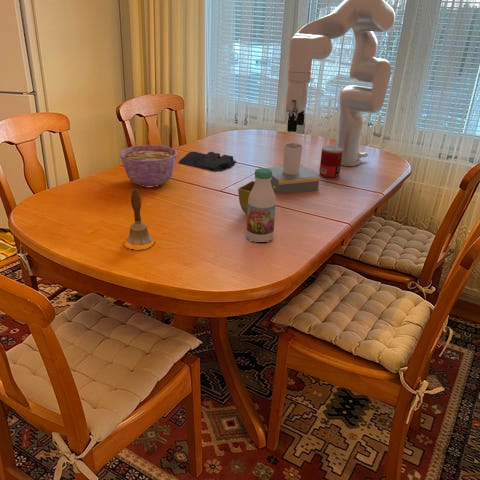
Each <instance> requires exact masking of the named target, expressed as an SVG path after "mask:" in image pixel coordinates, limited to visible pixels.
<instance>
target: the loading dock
mask: <svg viewBox="0 0 480 480" xmlns="http://www.w3.org/2000/svg"><path fill="white" fill-rule="evenodd" d="M264 168H265V169H269V170H271V171H272V179H271V185H272V186H275V192H274V193H276V194H277V195H282V194H290V193H291V194H292V193H300V192H309V191H318V190H319V184H320V181H321V176H320V175H318V174H317V173H315V172H313V171H312V170H310V169H309V168H307V167H306V166H304V165H303V164H300V168H299V173H298V174H295V175H290V174H285V173H284V172H283V166H274V167H273V166H272V167H264Z"/></svg>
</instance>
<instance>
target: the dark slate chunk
mask: <svg viewBox="0 0 480 480" xmlns="http://www.w3.org/2000/svg"><path fill="white" fill-rule="evenodd" d="M178 163H179V164H180V165H185V166H188V167H193V168H197V169H202V170H207V171H209V172H210V171H211V172H214V173H217V172H223V171H225V170H229V169H231V168H232V167H234V166H235V165H236V164H237V163H238V162H237V161H236V160H234V156H233V155H228V154H223V155H221V154H220V153H218V152H214V151H209V152H207V153H202V152H199V151H189V152H188V153H186V155H185V156H183V157H182V158H181V159H180V160H179V161H178Z"/></svg>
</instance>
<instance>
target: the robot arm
mask: <svg viewBox="0 0 480 480" xmlns="http://www.w3.org/2000/svg"><path fill="white" fill-rule="evenodd" d="M395 22H396V13H395V11H394V8H393V7H392V6H391V5H390V4H388V3H387V2H386V1H385V0H343V1H342V2H341V3H340V4H339V5H337V7H336V8H335V9H334V10H332V12H331V13H330V14H327V15H325V16H323V17H319V18H317V19H315V20H312V21H310V22H308V23H306V24H305V25H303V26H302V27H301V28H300V29H299V30H298V31H296V33H294V36H293V37H291V39H290V41H289V54H288V55H289V56H288V68H287V69H288V70H287V71H288V72H287V82H288V83H289V84H288V88H287V95H286V105H285V106H286V107H285V112H286V113H288V116H287V125H286V126H287V129H286V131H287V132H291V133H296V132H297V131H298V126H304V124H305V115H306V114H305V113H306V111H305V109H306V107H307V100H308V84H309V83H310V82H311V78H312V65H313V64H312V63H313V60H320V61H322V60H325V59H327V58H328V57H329V56H330V54H331V53H332V51H333V42H332V40H333V39H338V38H342V37H343V36H344V35H346V34H347V33H348V31H350V30H351V29H352V32H353V36H354V40H355V44H354V45H355V46H354V50H353V54H352V59H351V65H350V68H349V78H350V79H351V80H352V81H354V82H357V83H361V84H367V85H368V84H369V85H371V86H372V87H368V86H362V85H353V84H351V85H347V86H345V87H344V88H343V89H342V90H341V91H340V96H339V105H340V106H339V107H340V113H339V121H338V122H339V123H338V129H337V130H338V132H337V136H336V137H337V138H336V139H337V140H336V145H335V146H337V147H340V148H342V149H343V153H342V161H341V167H342V166H343V167H354V166H356V167H357V166H359V165H360V164H361V159H362V158H367V157H368V152H362V151H359V149H360V143H361V135H362V130H363V124H364V121H363V117H362V114H361V112H362V113H367V114H377V113H379V112H380V111H381V110H382V108H383V105H384V102H385V99H386V95H387V91H388V86H389V82H390V79H391V73H392V69H391V68H392V65H391V63H390V62H389V60H387V59H385V58H378V57H376V55H377V50H378V45H379V44H378V40H377V36H376V35H375V33H387V32H389V31H390V30H391V29H392V28H393V26H394V24H395ZM374 32H375V33H374Z"/></svg>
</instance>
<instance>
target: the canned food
mask: <svg viewBox="0 0 480 480" xmlns="http://www.w3.org/2000/svg"><path fill="white" fill-rule="evenodd" d="M342 153H343V149H342V148H340V147H337V146H336V145H323V146H322V147H321V153H320V161H319V170H318V171H319V173H318V174H319V177H322V178H324V179H337V178H339V176H340V174H341V173H340V172H341V167H342V165H341V161H342Z"/></svg>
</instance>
